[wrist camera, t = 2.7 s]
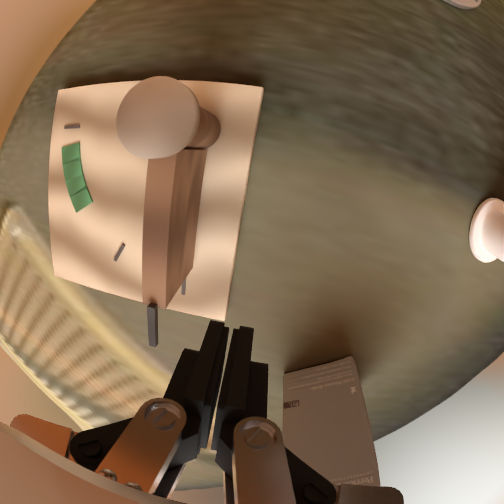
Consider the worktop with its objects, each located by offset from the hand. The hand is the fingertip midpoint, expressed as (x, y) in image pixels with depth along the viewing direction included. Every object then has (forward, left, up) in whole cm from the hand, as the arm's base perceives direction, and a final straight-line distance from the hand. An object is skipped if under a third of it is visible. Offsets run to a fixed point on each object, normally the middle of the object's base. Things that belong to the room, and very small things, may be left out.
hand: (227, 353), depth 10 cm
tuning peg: (-3, -5, -12) cm, 14 cm away
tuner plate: (-3, -11, -14) cm, 18 cm away
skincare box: (+15, +11, -14) cm, 24 cm away
